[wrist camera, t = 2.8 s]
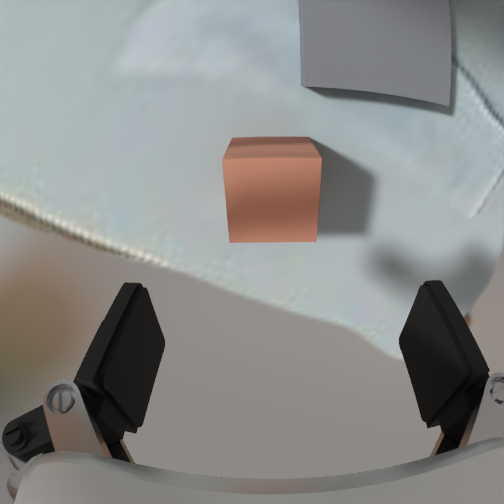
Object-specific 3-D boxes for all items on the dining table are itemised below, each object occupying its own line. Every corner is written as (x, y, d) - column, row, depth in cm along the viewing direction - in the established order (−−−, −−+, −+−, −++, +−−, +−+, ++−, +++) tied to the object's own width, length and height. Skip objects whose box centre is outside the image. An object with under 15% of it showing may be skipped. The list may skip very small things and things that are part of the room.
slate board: (293, -70, 9) (295, -78, 8) (432, -40, 9) (442, -44, 8) (301, 85, 16) (304, 86, 15) (438, 102, 16) (448, 106, 14)
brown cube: (232, 137, 19) (222, 159, 14) (308, 136, 18) (321, 158, 14) (236, 204, 21) (229, 242, 17) (306, 204, 21) (316, 241, 17)
